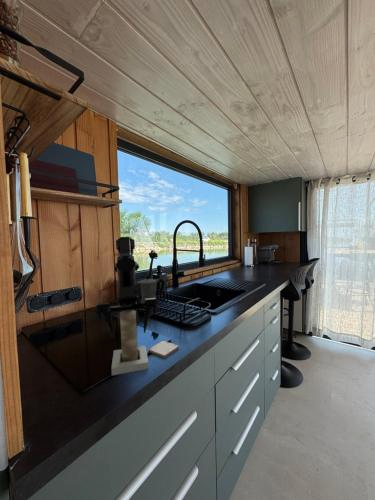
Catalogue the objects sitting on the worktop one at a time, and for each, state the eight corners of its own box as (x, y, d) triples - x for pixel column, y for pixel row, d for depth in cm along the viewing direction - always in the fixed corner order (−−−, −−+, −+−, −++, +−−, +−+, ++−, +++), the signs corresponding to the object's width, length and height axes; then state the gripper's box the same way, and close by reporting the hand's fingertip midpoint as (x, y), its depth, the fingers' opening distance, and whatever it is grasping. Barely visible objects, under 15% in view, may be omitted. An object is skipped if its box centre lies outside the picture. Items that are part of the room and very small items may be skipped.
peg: (120, 367, 65) (117, 315, 64) (124, 358, 70) (122, 310, 68) (136, 366, 65) (133, 315, 64) (139, 357, 70) (137, 309, 68)
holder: (114, 356, 71) (113, 350, 71) (145, 351, 73) (145, 345, 73) (111, 375, 61) (111, 368, 61) (148, 368, 64) (148, 362, 64)
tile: (148, 351, 73) (148, 349, 73) (163, 342, 79) (162, 340, 79) (164, 358, 69) (164, 355, 69) (178, 348, 75) (178, 346, 75)
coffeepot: (137, 315, 106) (135, 278, 105) (134, 309, 115) (132, 275, 114) (168, 310, 112) (167, 275, 111) (163, 305, 121) (162, 272, 120)
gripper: (94, 278, 67) (90, 327, 58) (155, 273, 72) (162, 318, 62) (99, 296, 76) (96, 343, 66) (154, 291, 80) (159, 334, 70)
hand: (128, 334), depth 66 cm, fingers open, 9 cm apart
